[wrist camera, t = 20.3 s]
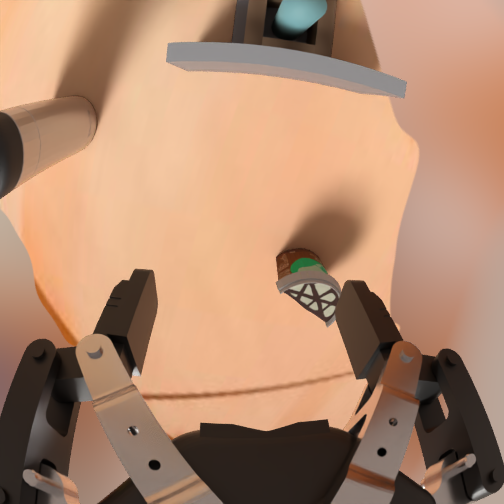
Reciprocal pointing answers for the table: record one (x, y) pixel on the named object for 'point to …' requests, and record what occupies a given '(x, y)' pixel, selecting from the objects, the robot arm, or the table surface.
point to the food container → (308, 283)
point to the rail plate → (269, 17)
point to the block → (315, 44)
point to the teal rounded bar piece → (297, 17)
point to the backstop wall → (283, 66)
